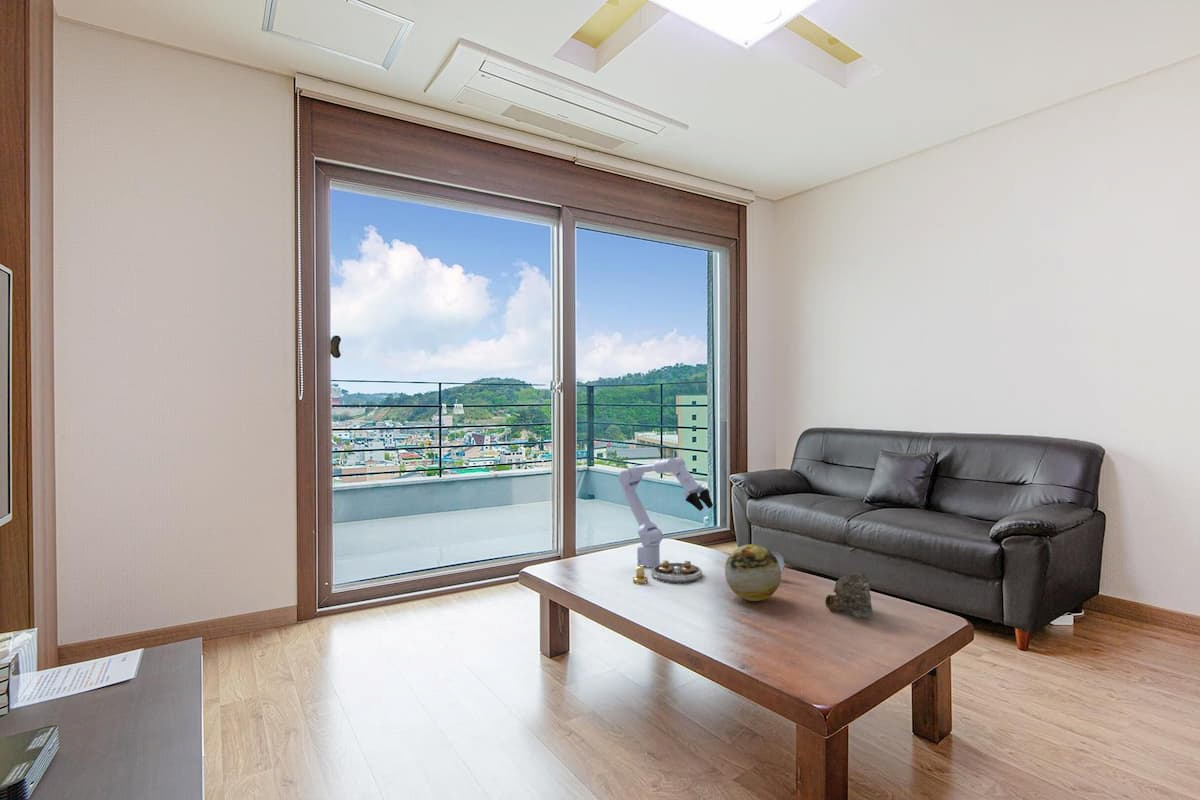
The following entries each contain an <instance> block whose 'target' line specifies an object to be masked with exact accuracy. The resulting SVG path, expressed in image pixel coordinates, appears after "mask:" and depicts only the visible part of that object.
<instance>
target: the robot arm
mask: <svg viewBox="0 0 1200 800" xmlns="http://www.w3.org/2000/svg"><path fill="white" fill-rule="evenodd" d="M651 472H655V473H656V474H666V473H672V474H673V475H674V477H675V478H676V479H677V481H678V482H679V483H680V485H681V486H682V487H683V489H684V490H685V491H684V492H683V493H682V494H683V496H684V497H685V501H686V502H687V503H688V504H691V505H692V506H694V508H696V509H697V510H698V511H700V512H701V511H702V510H703V509H704V505H705V507H707V508H708V509H711V508H713V507H714V504H713V501H712V499H711V496H710V490H709V489H708V488H705V486H702V484H699V483H698V482H697V481H696V480H695V478H694V477H693V475H692V474H691V473H690V471H689V470H688V469H687V467H686V464H685V460H684V459H683V458H681V457H673V458H672V457H667V458H665V459H663V458H658V459H657V460H656V461H654V463H653V464H643V465H641V464H640V465H636V466H632V467H628V468H626V469H622V470H621V471H620V473H619V476H618V481H619V483H620V485H621V491H622V493H623V494H622V495H623V496H624V498H625V500H626V502H627V504H628V507H629V508H630V510H631V512H632V515H633V516H634V518H635V520H636V522H637V524H638V527H639V528H638V530H637V533H638V537H639V541H640V544H639V545H638V546H637V551H636V552H637V553H636V554H637V559H636V560H637V564H636V566H637V565H643V566H650V567H649V568H652V567H654V566H656V565H659V564H663V563H662V561H660V560H661V558H660V557H661V556H660V553H661V552H660V551H661V549H660V545H661V542H662V541H663V538H664V535H663V532H662V531H661V529H660V528H658V526H657V524H655V523H654V522H652V520H651V519H650V517H649V515H648V513H647V510H645V507H644V506H643V503H642V502H641V499H640V497H639V496H638V493H637V491H636V490H637V487H638V486H639V484H640V482H641V480H642V478H643V476H644V475H645V473H651ZM698 494H699V495H698ZM702 502H703V503H702ZM703 504H704V505H703Z"/></svg>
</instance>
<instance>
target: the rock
mask: <svg viewBox="0 0 1200 800" xmlns="http://www.w3.org/2000/svg"><path fill="white" fill-rule="evenodd" d="M870 590H871V588H870V583H869V577H868V576H867V574H866V573H859V572H851V573H846V574H845V575H843V576H841V577H840V578H838V580H835V585H834V588H833V593H835V594H827V596H826V597H825V600H824V602H825V603H824V604H825V607H826V608H828V610H829V611H831V612H834V611H841V612H842V613H843V612H846V613H847V614H849V615H851V616H853V617H854V618H857V619H861V618H865V619H868V620H870V619H872V618H873V616H874V610H873V606H872V602H871V601H872V598H871V591H870Z"/></svg>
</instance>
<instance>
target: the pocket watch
mask: <svg viewBox="0 0 1200 800" xmlns="http://www.w3.org/2000/svg"><path fill="white" fill-rule="evenodd" d="M770 552H771V553H772V554H773V555H774V556H775V557H776V559H777V561H778V563H779V565H780V569H781V574H783V571H785V570H784V569H785V560H784V559H785V558H784V557H783V556H782V554H780V553H779V552H777V551H770Z"/></svg>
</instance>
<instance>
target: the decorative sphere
mask: <svg viewBox="0 0 1200 800" xmlns="http://www.w3.org/2000/svg"><path fill="white" fill-rule="evenodd" d="M771 552H772V551H771V550H770V549H768V548H767V547H764V546H762V545H759V544H755V543H754V544H752V543H750V544H744V545H740V546H739V547H736V549H734V550H733V551H732V552H731V553H730V554H729V556H728V557H727V560H726V563H725V566H724V576H725V578H726V582H727V585H728V587H729V588H730V590H731V591H732V592H733V593H734V594H735V595H736V596H738V597H739V598H741V599H744V600H745V601H750V602H761V601H764V600H766V599H768V598H770V597H771V596H773V595H774V593H776V591H777V590H778V588H779V586H780V583H781V579H782V573H781V569H780V565H779V563H778V561H777V559H776V557H775V556H774V555H773V554H772V553H771Z"/></svg>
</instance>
